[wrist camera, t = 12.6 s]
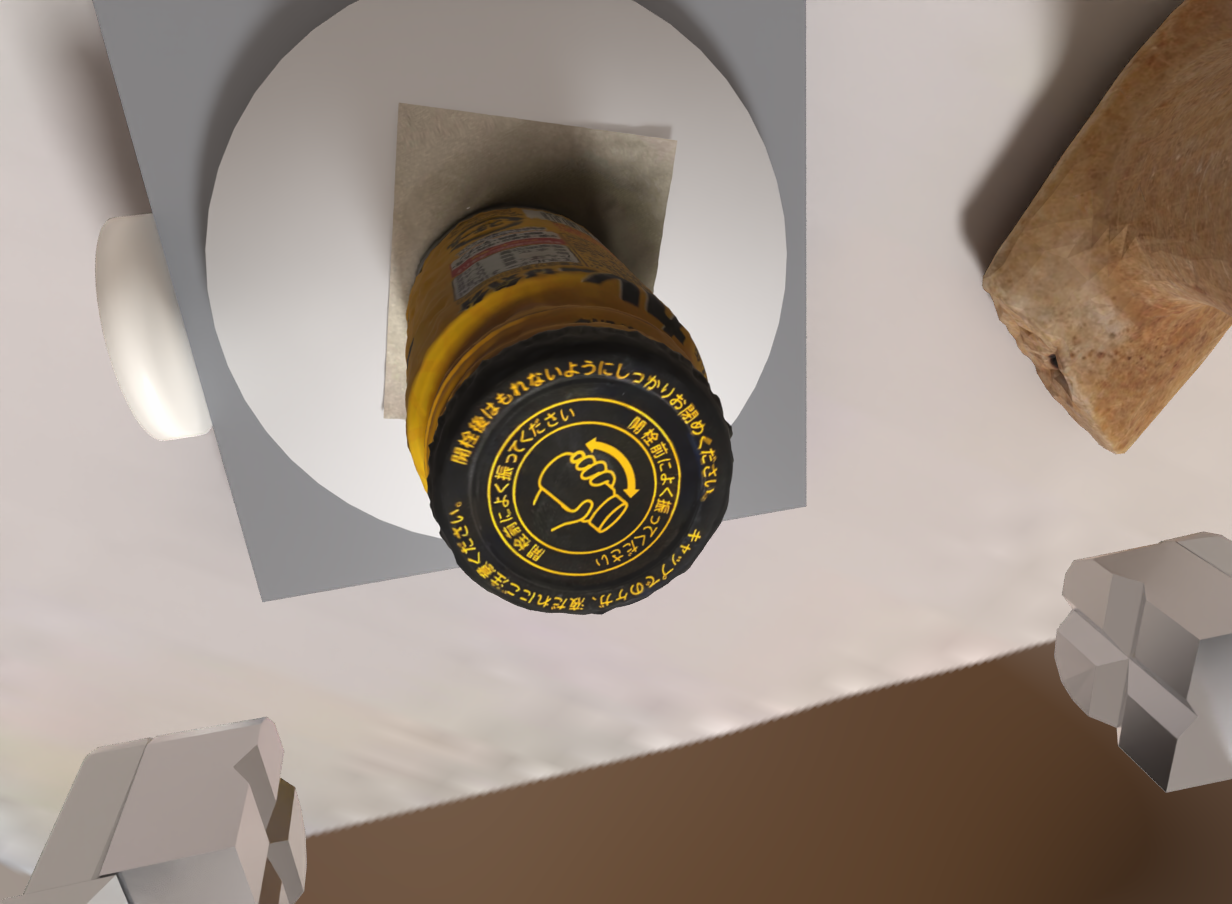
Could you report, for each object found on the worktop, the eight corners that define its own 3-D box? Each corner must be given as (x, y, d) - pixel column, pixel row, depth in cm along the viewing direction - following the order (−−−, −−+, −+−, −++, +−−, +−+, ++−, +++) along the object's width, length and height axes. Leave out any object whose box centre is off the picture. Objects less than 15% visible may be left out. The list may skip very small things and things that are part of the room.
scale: (67, -32, 24) (-36, -59, 19) (766, -84, 27) (858, -121, 22) (238, 561, 32) (202, 670, 26) (774, 471, 34) (845, 551, 29)
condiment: (383, 416, 27) (366, 663, 16) (398, 101, 23) (389, 140, 13) (630, 430, 28) (768, 661, 17) (674, 139, 25) (874, 201, 14)
